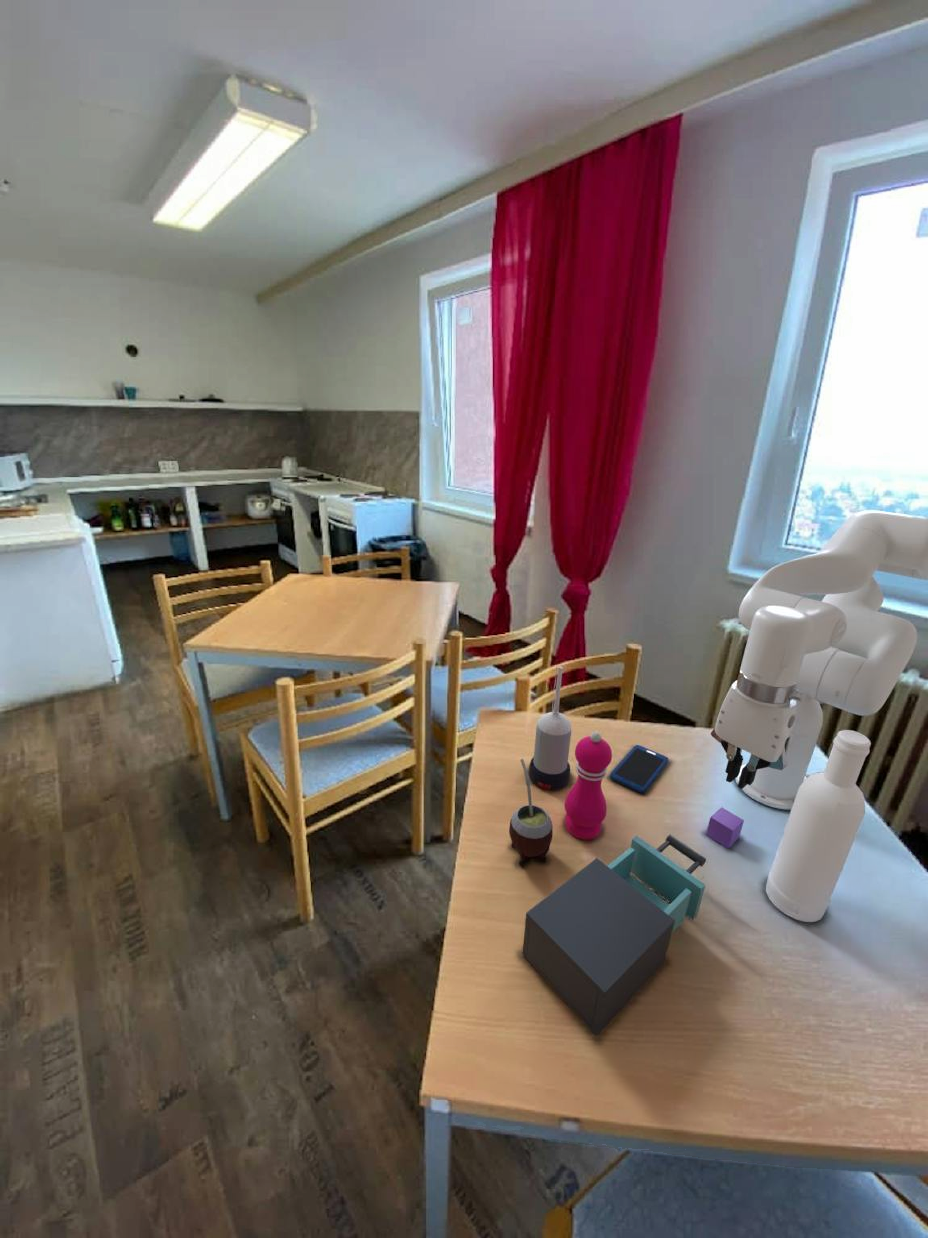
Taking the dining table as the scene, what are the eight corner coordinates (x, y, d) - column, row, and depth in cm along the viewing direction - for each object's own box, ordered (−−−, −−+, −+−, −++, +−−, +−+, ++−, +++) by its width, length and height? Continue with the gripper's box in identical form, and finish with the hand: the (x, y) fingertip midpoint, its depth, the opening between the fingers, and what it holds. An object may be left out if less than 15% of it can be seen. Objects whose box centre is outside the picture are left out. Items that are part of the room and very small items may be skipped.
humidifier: (537, 793, 100) (548, 679, 90) (523, 766, 107) (531, 658, 98) (576, 787, 102) (590, 675, 92) (559, 761, 109) (571, 655, 100)
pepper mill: (604, 845, 89) (620, 749, 81) (561, 838, 90) (573, 742, 82) (602, 815, 95) (617, 723, 87) (562, 809, 96) (574, 717, 89)
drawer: (650, 848, 87) (657, 819, 85) (716, 895, 79) (725, 864, 77) (575, 911, 76) (580, 879, 74) (643, 973, 68) (651, 940, 65)
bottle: (816, 886, 82) (879, 726, 70) (831, 931, 75) (903, 761, 63) (760, 872, 84) (812, 715, 73) (769, 913, 77) (828, 747, 66)
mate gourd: (539, 877, 82) (547, 803, 77) (495, 855, 86) (500, 783, 80) (557, 846, 88) (566, 775, 82) (515, 827, 92) (521, 758, 86)
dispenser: (590, 897, 79) (596, 857, 76) (664, 962, 70) (675, 920, 67) (522, 954, 71) (526, 912, 68) (596, 1036, 62) (605, 993, 59)
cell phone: (669, 760, 110) (669, 757, 110) (643, 795, 100) (643, 791, 100) (636, 746, 114) (636, 743, 114) (608, 778, 104) (608, 775, 104)
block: (717, 824, 94) (721, 807, 92) (739, 837, 91) (744, 820, 89) (705, 834, 91) (710, 817, 90) (728, 848, 89) (733, 831, 87)
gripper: (830, 699, 76) (797, 798, 83) (726, 660, 87) (704, 750, 94) (810, 717, 72) (777, 819, 79) (703, 673, 83) (682, 766, 90)
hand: (737, 781), depth 87 cm, fingers closed
